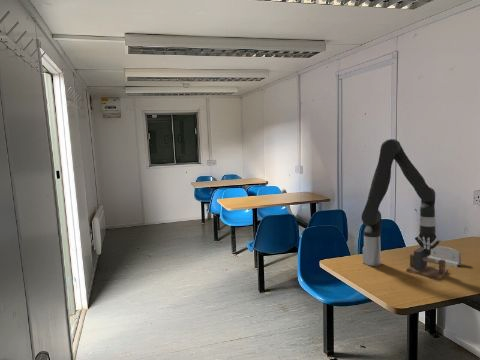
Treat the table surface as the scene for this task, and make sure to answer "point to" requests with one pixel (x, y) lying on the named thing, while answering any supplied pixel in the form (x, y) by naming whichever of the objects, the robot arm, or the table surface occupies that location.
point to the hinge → (446, 255)
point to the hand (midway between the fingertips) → (427, 255)
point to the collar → (419, 259)
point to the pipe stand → (429, 267)
